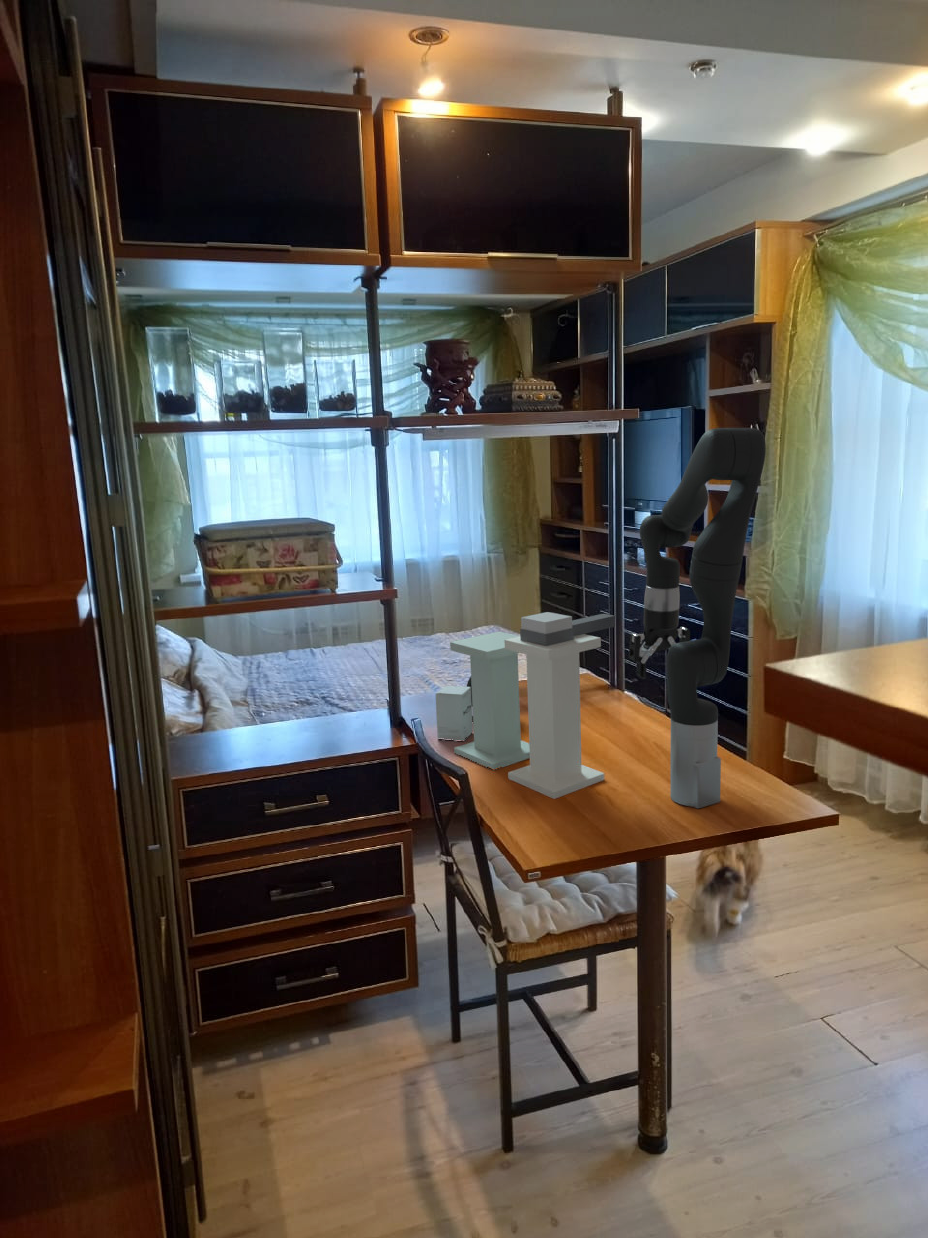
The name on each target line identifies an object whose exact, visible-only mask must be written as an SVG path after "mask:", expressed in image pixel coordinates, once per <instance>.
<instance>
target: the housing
mask: <svg viewBox="0 0 928 1238" xmlns="http://www.w3.org/2000/svg"><path fill="white" fill-rule="evenodd" d="M520 619H521V620H520V623H521V627H520V630H519V631H520V635H519V636H520V638H521V641H525V642H530V643H534V644H538V645H543V646H549V645H553V644H558V643H562V642H566V641H570V640H574V636H577V635H581V634H585V635H587V634H588V633H593V632H598V631H602V630H606V629H610V628H615V627H616V615H612V614H608V613H599V614H596V615H591V616H587V617H582V618H577V619H573V616H571V615H565V614H560V613H556V612H549V611H547V612H546V611H545V612H541V613H537V614H536V613H535V614H532V615H526V616H522V617H520Z"/></svg>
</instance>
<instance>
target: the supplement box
mask: <svg viewBox="0 0 928 1238" xmlns="http://www.w3.org/2000/svg"><path fill="white" fill-rule="evenodd" d="M434 694H435V711H436V713H435V715H436V728H437V729H436V734H437V736H436V737H437V739H438V738H444V739H451V740H452V739H453V740H461V741H463V740H464V741H466V739H467V738H469V736H471V735H472V734H473V733H474V728H473V724H472V716H473V707H472V703H471V687H467V686H460V685H459V686H457V685H444V686H443V687H442V688H440V689H439V690H438V691H436V692H435V693H434ZM472 732H473V733H472ZM471 733H472V734H471ZM466 737H467V738H466ZM465 738H466V739H465Z"/></svg>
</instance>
